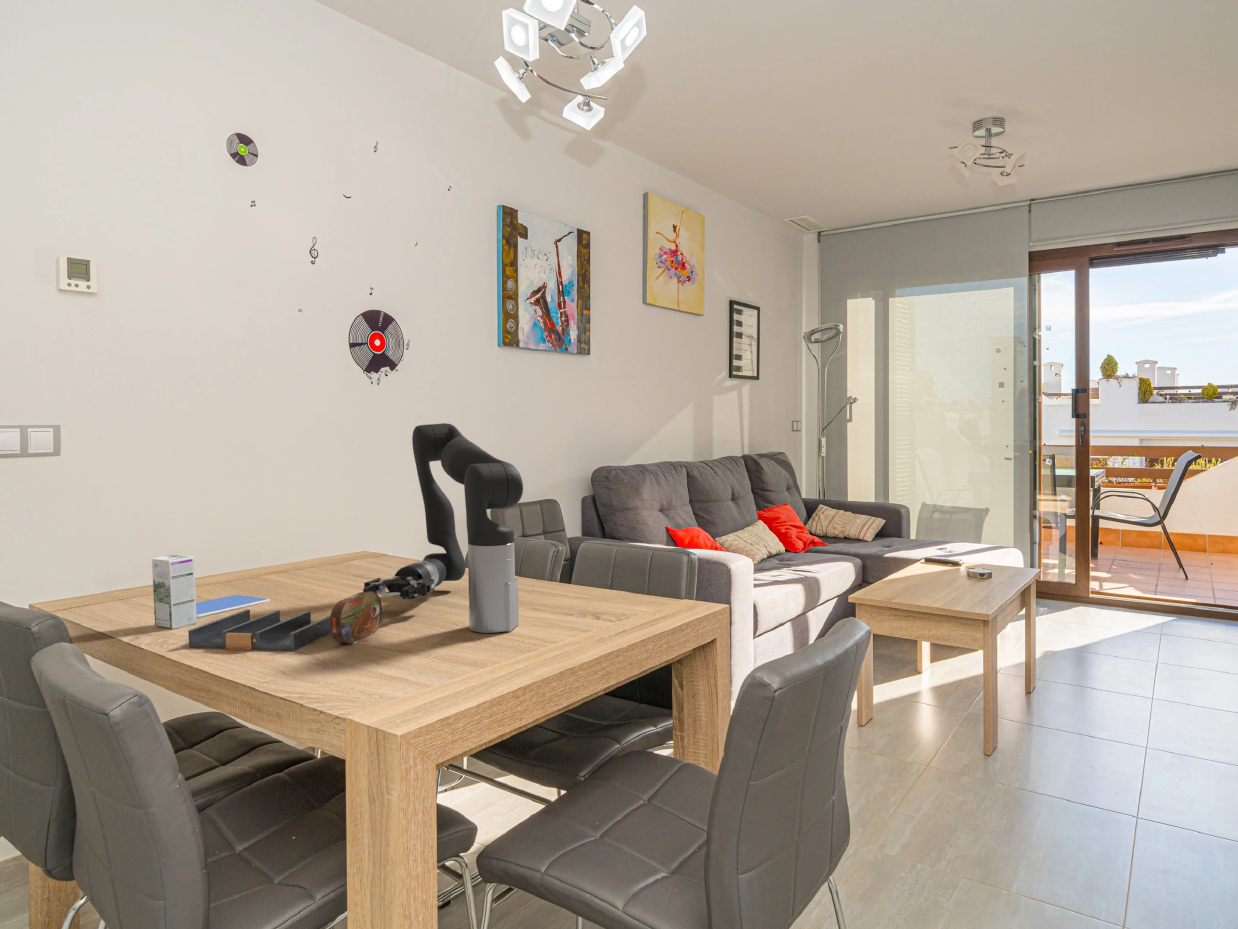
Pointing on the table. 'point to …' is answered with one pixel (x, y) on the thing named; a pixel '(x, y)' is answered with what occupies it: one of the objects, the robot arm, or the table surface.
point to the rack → (259, 632)
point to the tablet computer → (226, 604)
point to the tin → (356, 617)
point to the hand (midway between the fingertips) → (384, 593)
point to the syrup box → (174, 591)
